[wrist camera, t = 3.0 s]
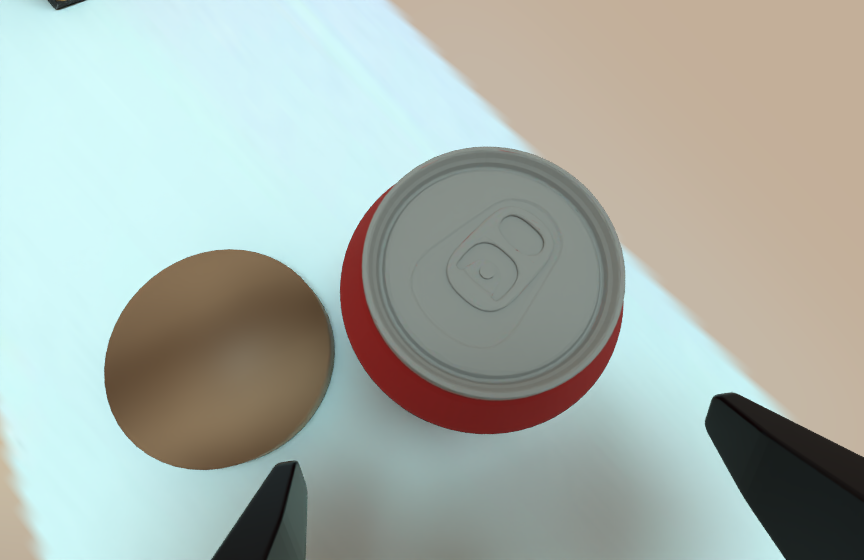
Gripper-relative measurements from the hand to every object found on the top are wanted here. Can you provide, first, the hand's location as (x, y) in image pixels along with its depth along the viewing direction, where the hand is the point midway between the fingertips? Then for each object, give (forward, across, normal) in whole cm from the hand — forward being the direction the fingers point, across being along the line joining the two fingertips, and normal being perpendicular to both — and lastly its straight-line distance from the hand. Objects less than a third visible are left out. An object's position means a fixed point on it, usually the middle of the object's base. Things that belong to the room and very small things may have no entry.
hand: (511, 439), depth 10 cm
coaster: (+10, +10, +4) cm, 15 cm away
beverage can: (+10, 0, +5) cm, 11 cm away
